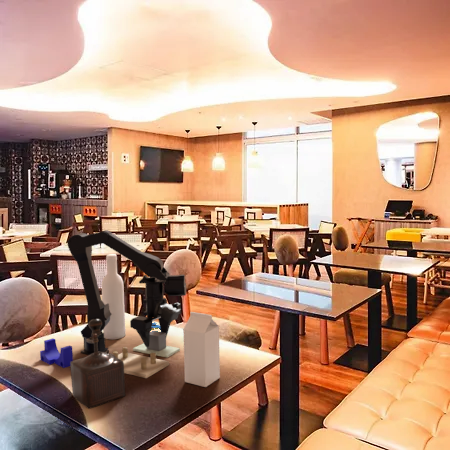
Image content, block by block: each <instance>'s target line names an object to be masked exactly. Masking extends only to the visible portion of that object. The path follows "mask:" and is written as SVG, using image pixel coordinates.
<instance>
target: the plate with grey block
mask: <svg viewBox="0 0 450 450" xmlns="http://www.w3.org/2000/svg"><path fill="white" fill-rule="evenodd" d="M132 351H134V352H139V353H142V354H148V355H150V353H156V357H157V356H158V357H162V358H169V357H171V356H173V355H174V354H176V353H178V352H180V351H181V348H180V347H176V346H171V345H167V337H166V333H164V332H158V331H152V332H150V342H149V347H146V346H145V344H144V342H143V343H142V344H139V345H138V346H137V345H136V346H134V347H133V348H132Z"/></svg>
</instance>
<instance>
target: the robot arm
mask: <svg viewBox="0 0 450 450" xmlns="http://www.w3.org/2000/svg"><path fill="white" fill-rule="evenodd" d="M102 244H103V245H104V246H107V247H108V248H109V249H111V250H113V251H114V252H116V253H118V254H119V255H121V256H123V257H124V258H126V259H128V260H129V261H131V262H132V263H133V264H135V266H136V267H137V268H138V269H139V270H140V271H141V272H142V273H143V274H144V275H143V277H141V278H140V280H139V281H138V283H139V284H144V285H145V298H144V299H143V300H142V303H143V304H145V311H143V316H142V315H138V316H135V317H134V318H131V320H130V325H129V326H130V328H131V329H133V330H135V331H136V332H137V334H138V335H139V337H140V339H141V340H142V342H143V343H144V344H145V346H146V347H149V342H150V331H151V330H152V328H153V327H151V326H152V322H155V321H156V320H158V325H159V326H160V329H161V332H164V333H166V338H167V336H168V333H169V329H170V326H171V323H172V322H174V321H175V320H178V317H179V315H180V314H182V311H181V310H182V308H181V303H179V302H175V303H170V304H169V303H168V300H167V297H164V293H165V294H166V295H167V296H169V297H170V296H171V297H175V296H176V297H177V296H183V297H184V296H186V295H187V283H186V275H185V274H173V275H171V274H170V273H169V271H168V270H167V269H166V267H164V262H163V260H162V259H161V258H160V257H158V256H156V255H153V254H151V253H147V252H144V251H141V250H139V249H138V248H136V247H135V246H133V245H131V244H130V243H129V242H127V241H125V240H123V239H122V238H120V237H118V236H116V235H115V234H113V233H112V232H111V230H108V229H105V230H102V231H99V232H94V233H89V234H88V233H85V232H80V233H77V234H73V235H71V236H70V237H69V239H68V240H67V247H68V250H69V252H70V253H71V257H72V258H73V259H74V260H75V261H76V263H77V267H78V271H79V275H80V279H81V283H82V287H83V291H84V295H85V298H86V303H87V310H86V311H87V312H86V321H87V322H86V323H87V324H86V326H85V327H84V328H82V329H81V330H80V334H81V336H82V338H83V350H80V354H85V355H87V356H88V355H90V354H92V353H94V343H88V342H86V339H88V338H90V337H92V330H91V329H90V328H89V325H88V324H89V322H90V321H91V320H92V319H100V320H101V321H102V326H101V328H100V331H101V333H102V334H101V335H99V336H98V338H97V339H98V351H100V352H107V350H109V348H108V347H106V338H104V333H103V329H104V327H105V326H106V325H107V324H108V323H109V321H110V316H111V315H112V314H111V312H110V310H109V304H104V303H103V302H102V296H101V293H100V289H99V286H98V281H97V277H96V273H95V269H94V266H93V260H92V254H93V253H92V251H93V247H94V246H97V245H102Z"/></svg>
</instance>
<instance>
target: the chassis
mask: <svg viewBox="0 0 450 450" xmlns="http://www.w3.org/2000/svg"><path fill="white" fill-rule="evenodd" d="M121 350H122V352H121V353H119V352H118V351H112V353H111V354H113V355H115V357H117V358H118V359H120V360H122V361H123V363H124V374H126V375H130V376H135V377H139V378H144V379H148V378H149V377H151V376H152V375H154V374H156V373H158V372H159V371H162V369H165V368H166V367H168V366H170V361H168V360H164V359H159V358H157V355H156V353H150V354H149V356H146V355H140V354H135V353H131V352H129V351H128V347H127V346H123V347H122V349H121Z"/></svg>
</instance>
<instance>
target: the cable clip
mask: <svg viewBox="0 0 450 450" xmlns="http://www.w3.org/2000/svg"><path fill="white" fill-rule="evenodd" d="M56 341H57V340H56V339H55V338H50V339H46V340H43V343H44V344H43V346H44V350H43V349H42V350H40V351H39V352H40V353H39V355H40V361H42V362H43V363H46V364H47V365H49V366H50V365H53V364H55V365H57V366H59V367H60V368H63V369H65V368H68V367H71V364H70V363H71V361H74V357H73V355H74V354H73V346H72V345H67V346H63V347H60V351H59V350H58V346H57V343H56Z"/></svg>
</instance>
